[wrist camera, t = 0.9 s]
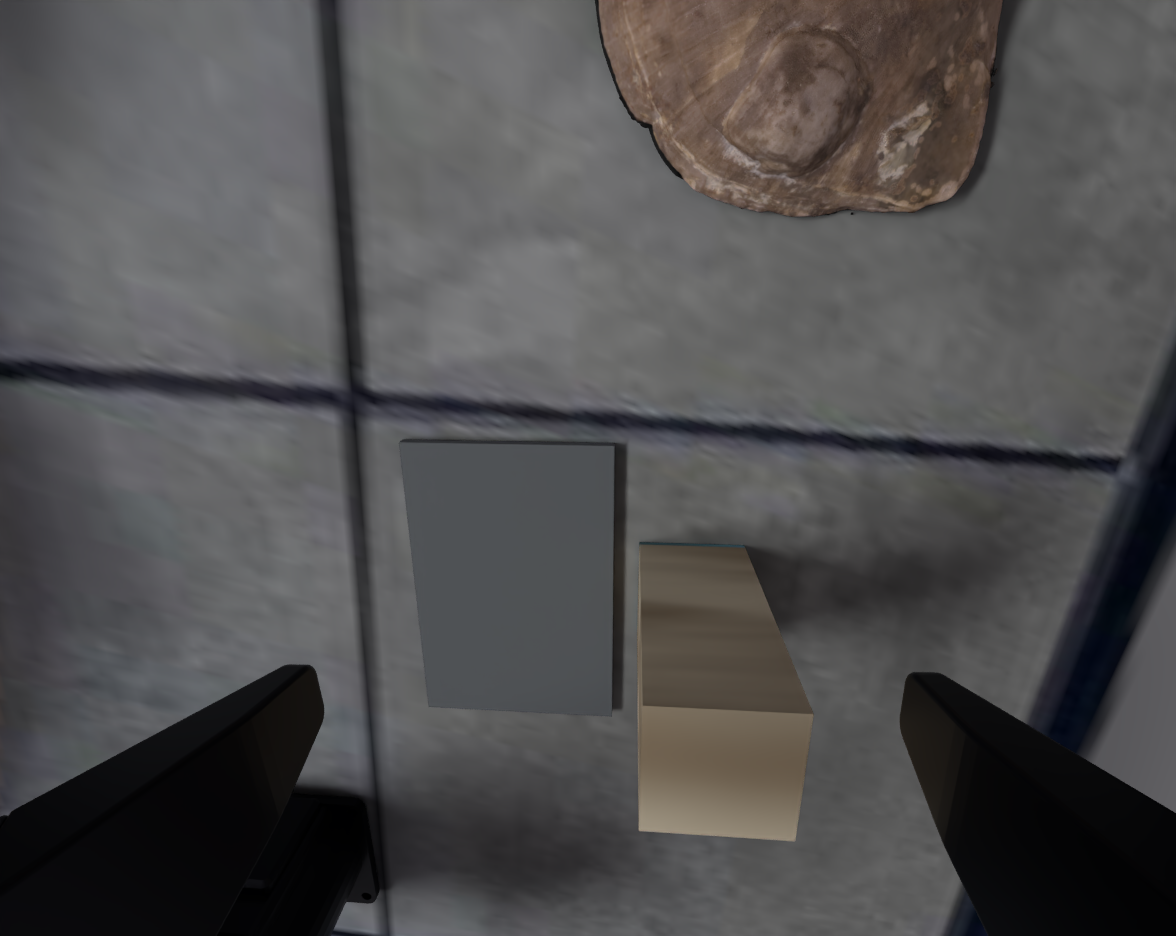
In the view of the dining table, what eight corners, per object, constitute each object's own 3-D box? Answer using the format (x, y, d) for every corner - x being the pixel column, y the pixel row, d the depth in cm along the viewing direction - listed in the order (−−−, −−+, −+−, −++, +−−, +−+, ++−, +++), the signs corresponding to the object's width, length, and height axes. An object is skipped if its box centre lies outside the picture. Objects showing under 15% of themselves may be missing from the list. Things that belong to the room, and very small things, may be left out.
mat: (611, 709, 25) (611, 716, 24) (431, 700, 25) (428, 706, 25) (614, 442, 21) (614, 445, 21) (403, 439, 22) (398, 442, 21)
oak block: (736, 634, 23) (795, 841, 15) (637, 630, 24) (638, 830, 15) (744, 545, 22) (813, 714, 13) (639, 542, 22) (642, 705, 14)
